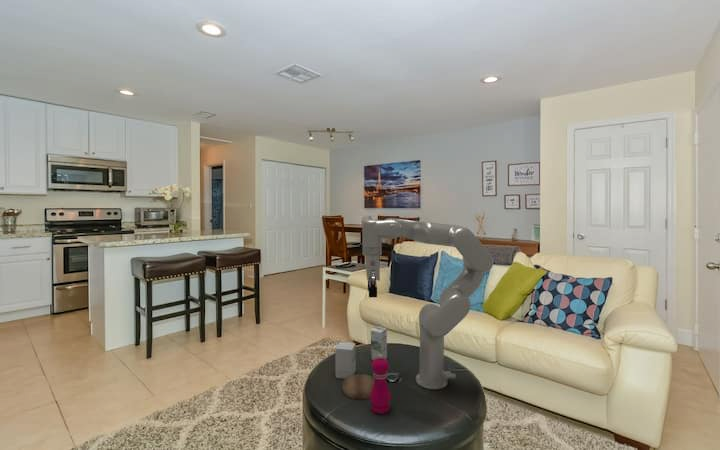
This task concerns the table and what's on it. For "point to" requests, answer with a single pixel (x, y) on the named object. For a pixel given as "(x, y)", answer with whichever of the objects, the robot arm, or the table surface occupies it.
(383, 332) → the syrup box
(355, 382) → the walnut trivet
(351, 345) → the supplement box
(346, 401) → the table surface
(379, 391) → the pepper mill
